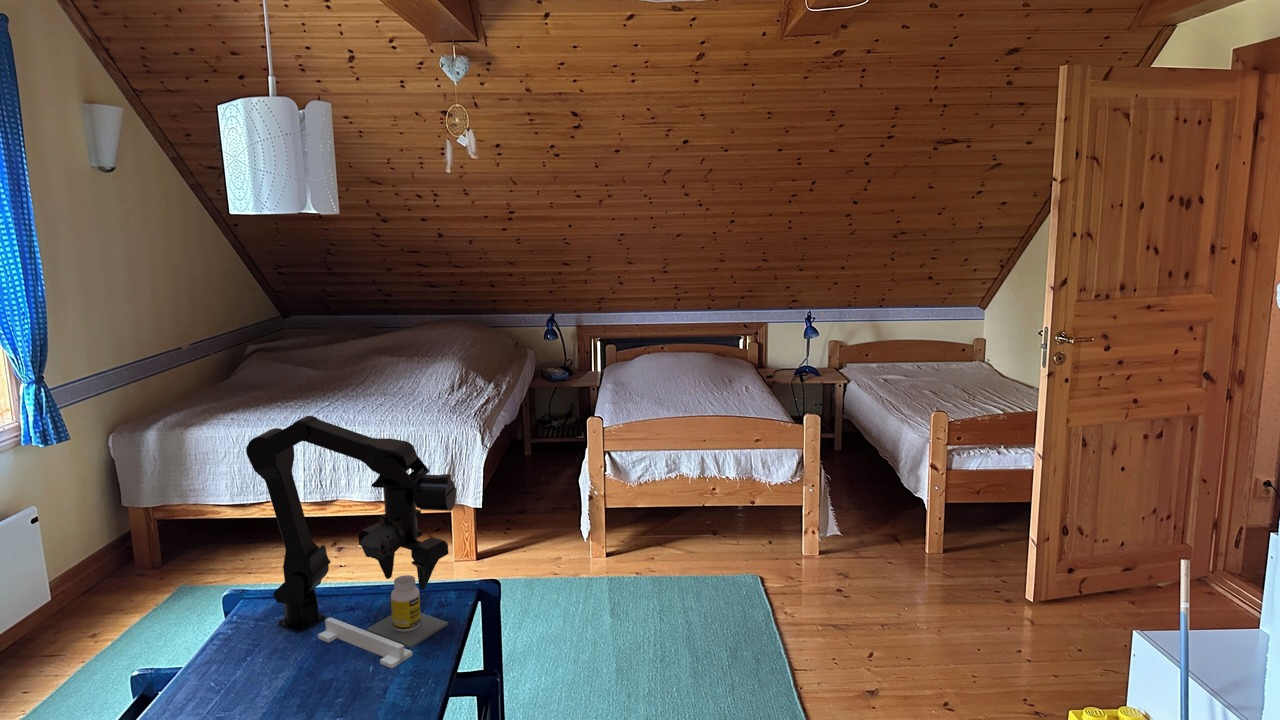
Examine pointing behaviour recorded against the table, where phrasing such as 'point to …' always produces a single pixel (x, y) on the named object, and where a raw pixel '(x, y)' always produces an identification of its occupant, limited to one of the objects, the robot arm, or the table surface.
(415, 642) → the slate mat
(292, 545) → the robot arm
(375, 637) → the white barrier
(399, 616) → the supplement bottle
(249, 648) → the table surface
